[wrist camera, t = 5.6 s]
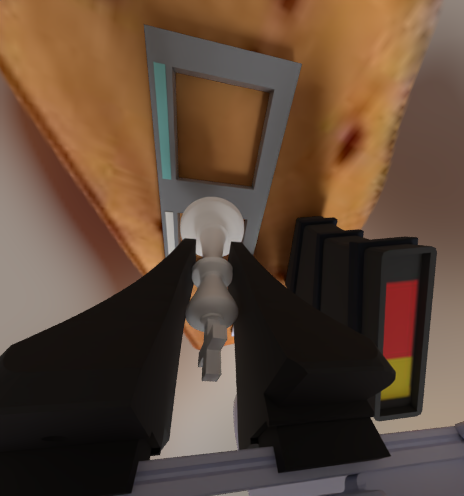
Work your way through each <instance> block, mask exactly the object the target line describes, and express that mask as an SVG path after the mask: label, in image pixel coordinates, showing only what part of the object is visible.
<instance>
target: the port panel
mask: <svg viewBox="0 0 464 496" xmlns="http://www.w3.org/2000/svg"><path fill="white" fill-rule="evenodd" d="M144 32H145V42H146V53H147V64H148V75H149V86H150V96H151V107H152V118H153V129H154V140H155V151H156V161H157V172H158V183H159V194H160V205H161V215H162V226H163V237H164V248H165V258H166V257H167V256H168V255H169V254H170V253H171V252H172V251H173V250H174V249H175V248H176V247H177V246H178V245H179V243H180V242H181V240H180V213H184V211H185V209H186V208H187V207H188V206H189V205H190V204H191V203H193V202H194V201H196V200H198V199H201V198H204V197H219V198H223V199H225V200H227V201H229V202H231V203H232V204H233V205H235V206H236V207H237V209H238V210H239V211H240V213H241V215H242V217H243V219H245V223H244V235H243V239H242V241H241V242H242V243H243V244H244V246H245V247H246V248H247V249H248V251H249V252H250V253H251V254H252V255H253V254H254V250H255V246H256V242H257V238H258V234H259V230H260V226H261V222H262V218H263V214H264V210H265V206H266V203H267V199H268V195H269V191H270V187H271V183H272V179H273V175H274V171H275V167H276V163H277V159H278V156H279V152H280V148H281V144H282V140H283V136H284V132H285V128H286V124H287V120H288V116H289V112H290V108H291V105H292V101H293V97H294V93H295V89H296V85H297V81H298V77H299V73H300V69H301V65H302V64H301V63H297V62H293V61H289V60H285V59H281V58H277V57H272V56H268V55H264V54H260V53H256V52H252V51H248V50H244V49H240V48H236V47H232V46H228V45H224V44H220V43H216V42H212V41H208V40H204V39H200V38H196V37H192V36H188V35H184V34H180V33H176V32H172V31H168V30H164V29H160V28H156V27H152V26H148V25H144ZM175 72H176V73H181V74H185V75H190V76H194V77H199V78H204V79H208V80H213V81H218V82H222V83H227V84H232V85H236V86H241V87H245V88H250V89H255V90H259V91H264V92H269V93H270V95H269V100H268V105H267V111H266V116H265V121H264V126H263V131H262V136H261V141H260V146H259V151H258V156H257V162H256V167H255V172H254V177H253V182H252V187H250V186H243V185H235V184H227V183H219V182H211V181H204V180H196V179H188V178H180V177H179V173H178V140H177V107H176V73H175Z"/></svg>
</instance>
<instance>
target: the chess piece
mask: <svg viewBox="0 0 464 496" xmlns="http://www.w3.org/2000/svg"><path fill="white" fill-rule="evenodd" d="M180 233H181V237H182V239H184V238H190V239H196V254H197V255H199V256H202V257H203V258H202V259H200V260H198V261H197V262H196V263H195V264H194V265H193V267H192V281H193V283H194V284H195V285H196V286H197V287H198V288H197V291H196V293H195V294H194V296H193V297H192V298H191V300H190V302H189V304H188V306H187V308H186V312H185V317H186V320H187V322H188V323H189V324H190V325H191V326H192V327H193V328H195V329H197V330H199V331H203V332H204V343H203V346H202V348H201V350H200V352H199V359H198V367H202V381H215V382H216V381H217V380H218V379H219V377H220V376H221V349H222V347H223V346H224V344H225V342H226V340H227V329H226V328H228V327H230V326H231V325H232V324H233V323H234V322H235V321H236V319H237V317H238V307H237V305H236V303H235V301H234V299H233V297H232V296H231V295H230V293H229V291H228V289H227V286H228V285H229V284H230V283H231V281H232V276H233V273H232V270H233V267H232V266H231V264H230V263H229V262H228V261H227V260H225V259H223V258H222V257H223V256H226V255H228V254H229V251H230V245H231V241H232V242H241V241H242V239H243V235H244V221H243V217H242V215H241V213H240V211H239V210H238V209H237V207H236V206H235V205H233V204H232V203H231V202H229V201H227V200H225V199H223V198H219V197H204V198H201V199H198V200H196V201H194V202H193V203H191V204H190V205H189V206H188V207H187V208H186V209H185V211H184V213H183V215H182V217H181V222H180Z"/></svg>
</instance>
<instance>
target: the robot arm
mask: <svg viewBox="0 0 464 496" xmlns="http://www.w3.org/2000/svg"><path fill="white" fill-rule="evenodd" d="M228 262H229V263H230V264H231V266H232V267H233V270H232V273H233V276H232V281H231V283H230V284H229V285H228V291H229V293H230V295H231V296H232V297H233V299H234V301H235V303H236V305H237V307H238V317H237V319H236V321H235V322H234V323H233V329H232V333H231V334H232V336H234V342H235V359H236V360H235V361H236V385H237V395H236V397H235V400H234V411H233V412H234V414H233V415H234V428H235V437H236V443H237V448H238V450H236V451H227V452H218V453H210V454H200V455H191V456H182V457H173V458H164V459H155V460H150V456H155V455H160V453H161V450H162V449H163V447H164V446H165V445H166V443H167V442H168V441H169V437H170V428H171V421H172V412H173V404H174V396H175V387H176V380H177V372H178V365H179V357H180V349H181V342H182V335H183V328H184V323H185V318H186V317H185V312H186V308H187V306H188V304H189V301H190V297H191V293H192V289H193V284H194V283H193V281H192V267H193V265H194V264H195V263H196V239H190V238H184V239H183V240H182V241H181V242H180V243H179V245H178V246H177V247H176V248H175V249H174V250H173V251H172V252H171V253H170V254H169V255H168V256H167V257H166V258H165V259H164V260H162V261H161V262H160V263H159V264H158V265H157V266H156V267H154V268H153V269H152V270H151V271H149V272H148V273H147V274H146V275H144V276H143V277H142V278H140V279H139V280H137V281H136V282H135V283H133V284H131V285H130V286H128V287H127V288H125V289H123V290H122V291H120V292H119V293H117V294H115V295H113V296H112V297H110V298H108V299H107V300H105V301H103V302H101V303H99V304H97V305H96V306H94V307H92V308H90V309H88V310H86V311H84V312H83V313H80V314H78V315H76V316H74V317H72V318H70V319H68V320H66V321H64V322H62V323H59V324H58V325H55V326H53V327H51V328H49V329H47V330H44V331H42V332H40V333H38V334H35V335H33V336H31V337H29V338H27V339H24V340H22V341H20V342H18V343H15V344H13V345H11V346H10V347H9V348H8V349H7V350H6V351H5V352H4V353H3V354H2V355H1V356H0V496H213V495H219V494H226V493H233V492H240V491H246V490H247V491H248V492H249V496H464V422H460V423H458V424H455V426H450V427H441V428H433V429H423V430H414V431H405V432H396V433H388V434H379V433H378V431H377V429H376V428H375V426H374V424H373V422H372V420H371V418H370V417H373V416H375V415H374V411H373V409H372V408H371V406H370V404H369V402H368V401H367V399H369V398H371V397H372V396H374V395H376V394H377V393H379V392H381V391H382V390H384V389H386V388H387V387H388V386H390V385H391V384H392V383H393V382H394V381H395V378H396V371H395V370H394V369H393V367H392V366H391V365H390V363H389V362H388V361H387V359H386V358H385V357H384V356H383V354H382V353H381V352H380V350H379V349H378V348H377V346H376V345H375V344H374V342H373V341H372V340H371V339H370V338H368V337H366V336H364V335H362V334H360V333H358V332H357V331H355V330H353V329H351V328H349V327H347V326H345V325H343V324H341V323H340V322H338V321H336V320H334V319H332V318H331V317H329V316H327V315H326V314H324V313H322V312H321V311H319V310H318V309H316V308H314V307H313V306H311V305H310V304H308V303H307V302H305V301H304V300H302V299H301V298H300V297H298V296H297V295H295V294H294V293H293V292H291V291H290V290H289V289H287V288H286V287H285V286H284V285H282V284H281V283H280V282H279V281H278V280H276V279H275V278H274V277H273V276H272V275H271V274H270V273H269V272H268V271H267V270H266V269H265V268H264V267H263V266H262V265H261V264H260V263H259V262H258V261H257V260H256V259H255V258H254V256H253V255H252V254H251V253H250V252H249V251H248V249H247V248H246V247H245V246H244V244H243V243H242V242H232V241H231V245H230V251H229V258H228Z"/></svg>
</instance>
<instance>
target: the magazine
mask: <svg viewBox="0 0 464 496" xmlns="http://www.w3.org/2000/svg"><path fill="white" fill-rule="evenodd" d="M336 225H337V219H336V218H324V217H322V216H315V217H303V218H297V220H296V225H295V231H294V237H293V243H292V248H291V254H290V260H289V265H288V271H287V277H286V283H285V285H286V287H287V289H289V290H290V291H291V292H293V293H294V294H295V295H297V296H298V297H300V298H301V299H302V300H304V301H305V302H307V303H308V304H310V305H311V306H313V307H314V308H316V309H318V310H319V311H321V312H322V313H324V314H326V315H327V316H329V317H331V318H332V319H334V320H336V321H338V322H340V323H341V324H343V325H345V326H347V327H349V328H351V329H353V330H355V331H357V332H358V333H360V334H362V335H364V336H366V337H368V338H370V339H371V340H372V341H373V342H374V344H375V345H376V346H377V348H378V349H379V350H380V352H381V353H382V354H383V356H384V357H385V358H386V359H387V361H388V362H389V363H390V365H391V366H392V367H393V369H394V370H395V371H396V378H395V381H394V382H393V383H392V384H391V385H390V386H388V387H387V388H386V389H384V390H382V391H381V392H379V393H377V394H376V395H374V396H372V397H371V398H369V399H367V401H368V402H369V404H370V406H371V408H372V409H373V411H374V415H375V416H373V417H374V418H375V420H377V421H385V420H392V419H400V418H407V417H415V416H418V415H420V414H421V412H422V407H423V396H424V385H425V374H426V362H427V352H428V342H429V331H430V320H431V310H432V299H433V288H434V276H435V267H436V256H437V251H436V248H434V247H432V246H423V245H418V238H416V237H395V238H385V239H373V240H369V239H365V238H363V233H364V231H362V230H359V229H358V230H347V231H344V230H342V229H340V228H339V227H337V226H336Z"/></svg>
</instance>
